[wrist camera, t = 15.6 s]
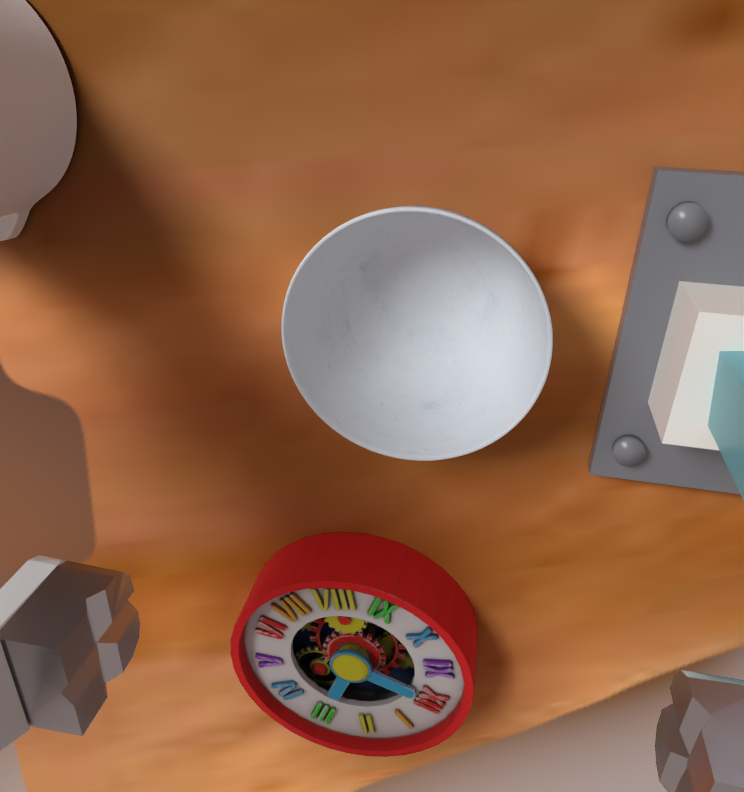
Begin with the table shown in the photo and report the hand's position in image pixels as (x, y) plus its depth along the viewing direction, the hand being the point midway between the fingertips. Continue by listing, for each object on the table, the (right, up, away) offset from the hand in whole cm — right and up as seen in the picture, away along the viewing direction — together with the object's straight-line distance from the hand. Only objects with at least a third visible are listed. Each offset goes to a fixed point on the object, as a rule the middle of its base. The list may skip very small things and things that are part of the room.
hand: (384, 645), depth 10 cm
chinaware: (+4, +10, +34) cm, 35 cm away
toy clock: (-1, -16, +49) cm, 51 cm away
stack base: (+22, +7, +31) cm, 38 cm away
